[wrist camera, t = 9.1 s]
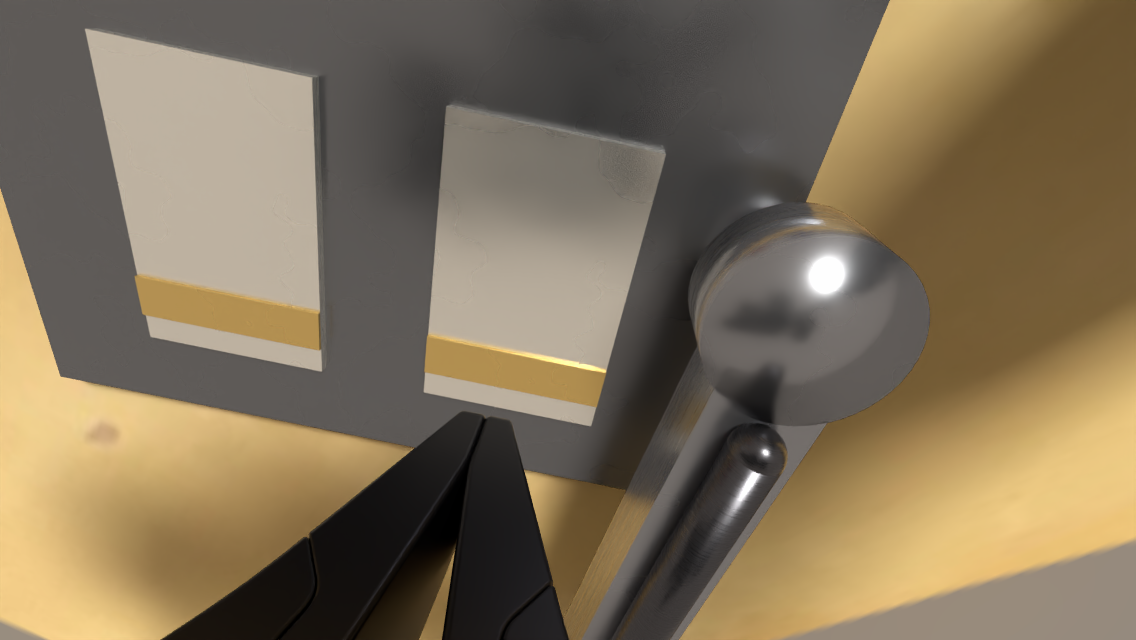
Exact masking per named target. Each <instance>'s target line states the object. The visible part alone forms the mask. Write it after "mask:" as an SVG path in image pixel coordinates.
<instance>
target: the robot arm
mask: <svg viewBox="0 0 1136 640" xmlns="http://www.w3.org/2000/svg"><path fill="white" fill-rule="evenodd" d="M454 551H455V555H454V561H453V568H452V575H451V582H450V589H449V596H448V602H447V609H446V616H445V623H444V630H443V636H442V640H569V637H568V634H567V630H566V627H565V624H564V620H563V617H562V613H561V610H560V606H559V602H558V598H557V595H556V591H555V588H554V586H552V585H553V580H552V576H551V572H550V569H549V565H548V561H547V557H546V553H545V549H544V545H543V541H542V538H541V534H540V530H539V526H538V522H537V518H536V514H535V510H534V507H533V503H532V499H531V495H530V491H529V487H528V483H527V479H526V476H525V472H524V468H523V464H522V460H521V456H520V452H519V449H518V445H517V441H516V437H515V433H514V429H513V425H512V423H511V421H510V420H508V419H504V418H499V417H494V416H489V417H487V418H485V416H484V415H483V414H479V413H474V412H469V411H461V412H459V413H458V414H457V415H456V416H454V417H453V418H452V419H451V420H449V421H448V422H447V423H446V424H444V425H443V426H442V427H441V428H439V429H438V430H437V431H436V432H435V433H433V434H432V435H431V436H430V437H428V438H427V439H426V440H425V441H423V442H422V443H421V444H420V445H418V446H417V447H416V448H415V449H413V450H412V451H411V452H410V453H408V454H407V455H406V456H405V457H403V458H402V459H401V460H400V461H398V462H397V463H396V464H395V465H393V466H392V467H391V468H390V469H388V470H387V471H386V472H385V473H383V474H382V475H381V476H380V477H378V478H377V479H376V480H375V481H374V482H372V483H371V484H370V485H369V486H367V487H366V488H365V489H364V490H362V491H361V492H360V493H359V494H357V495H356V496H355V497H354V498H352V499H351V500H350V501H349V502H347V503H346V504H345V505H344V506H342V507H341V508H340V509H339V510H337V511H336V512H335V513H334V514H332V515H331V516H330V517H329V518H327V519H326V520H325V521H324V522H322V523H321V524H320V525H319V526H318V527H316V528H315V529H314V530H313V531H311V532H310V533H309V534H308V538H307V537H303V538H302V539H301V540H300V541H298V542H297V543H296V544H295V545H293V546H292V547H291V548H290V549H289V550H287V551H286V552H285V553H284V554H282V555H281V556H280V557H278V558H277V559H276V560H274V561H273V562H272V563H270V564H269V565H268V566H267V567H265V568H264V569H263V570H261V571H260V572H259V573H257V574H256V575H255V576H253V577H252V578H251V579H249V580H248V581H247V582H245V583H244V584H242V585H241V586H240V587H238V588H237V589H235V590H234V591H232V592H231V593H229V594H228V595H227V596H225V597H224V598H222V599H221V600H219V601H218V602H216V603H215V604H213V605H212V606H211V607H209V608H208V609H206V610H205V611H203V612H202V613H200V614H199V615H197V616H196V617H194V618H193V619H191V620H190V621H188V622H187V623H185V624H184V625H182V626H181V627H179V628H178V629H176V630H175V631H173V632H172V633H170V634H169V635H167V636H166V637H164V638H163V639H161V640H419V638H420V635H421V633H422V630H423V628H424V625H425V623H426V621H427V618H428V616H429V613H430V611H431V608H432V606H433V603H434V601H435V598H436V596H437V593H438V591H439V588H440V586H441V584H442V581H443V579H444V576H445V574H446V571H447V569H448V566H449V564H450V561H451V559H452V556H453V553H454Z"/></svg>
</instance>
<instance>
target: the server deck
mask: <svg viewBox="0 0 1136 640" xmlns="http://www.w3.org/2000/svg"><path fill="white" fill-rule="evenodd" d="M889 1H890V0H0V189H1V192H2V195H3V198H4V201H5V204H6V207H7V211H8V214H9V217H10V220H11V223H12V226H13V229H14V232H15V236H16V239H17V242H18V245H19V248H20V251H21V254H22V257H23V260H24V264H25V267H26V270H27V273H28V276H29V279H30V282H31V285H32V289H33V292H34V295H35V298H36V301H37V304H38V307H39V310H40V314H41V317H42V320H43V323H44V326H45V329H46V332H47V335H48V339H49V342H50V345H51V348H52V351H53V354H54V357H55V360H56V364H57V367H58V370H59V373H60V376H61V377H66V378H71V379H76V380H81V381H86V382H91V383H96V384H101V385H106V386H111V387H116V388H121V389H126V390H131V391H136V392H141V393H146V394H151V395H156V396H161V397H166V398H171V399H176V400H181V401H186V402H191V403H196V404H201V405H206V406H211V407H216V408H221V409H226V410H231V411H236V412H241V413H246V414H251V415H256V416H261V417H266V418H271V419H276V420H281V421H286V422H291V423H296V424H301V425H306V426H311V427H315V428H320V429H325V430H330V431H335V432H340V433H345V434H350V435H355V436H360V437H365V438H370V439H375V440H380V441H385V442H390V443H395V444H400V445H405V446H410V447H415V448H416V447H417V446H418V445H420V444H421V443H422V442H423V441H425V440H426V439H427V438H428V437H430V436H431V435H432V434H433V433H435V432H436V431H437V430H438V429H439V428H441V427H442V426H443V425H444V424H446V423H447V422H448V421H449V420H451V419H452V418H453V417H454V416H456V415H457V414H458V413H459V412H461V411H469V412H474V413H479V414H483V415H484V416H485V418H487V417H489V416H494V417H499V418H504V419H508V420H510V421H511V423H512V425H513V429H514V433H515V437H516V441H517V445H518V449H519V452H520V456H521V460H522V464H523V468H524V469H525V470H530V471H535V472H540V473H545V474H550V475H555V476H560V477H565V478H570V479H575V480H580V481H585V482H590V483H594V484H599V485H604V486H609V487H614V488H619V489H624V490H627V488H628V486H629V484H630V482H631V480H632V478H633V476H634V474H635V472H636V470H637V467H638V465H639V463H640V461H641V459H642V457H643V455H644V453H645V451H646V449H647V447H648V445H649V443H650V441H651V439H652V437H653V435H654V433H655V431H656V428H657V426H658V424H659V422H660V420H661V418H662V416H663V414H664V412H665V410H666V408H667V406H668V404H669V402H670V400H671V398H672V396H673V394H674V392H675V389H676V387H677V385H678V383H679V381H680V379H681V377H682V375H683V373H684V371H685V369H686V367H687V365H688V363H689V361H690V359H691V357H692V355H693V353H694V351H695V348H696V346H697V341H696V337H695V333H694V329H693V325H692V321H691V317H690V312H689V306H688V291H689V285H690V280H691V276H692V273H693V271H694V268H695V266H696V264H697V262H698V260H699V258H700V256H701V255H702V253H703V252H704V250H705V249H706V247H707V246H708V245H709V244H710V243H711V241H712V240H713V239H714V238H715V237H716V236H717V235H718V234H719V233H720V232H722V231H723V230H724V229H725V228H726V227H728V226H729V225H730V224H732V223H733V222H735V221H736V220H738V219H740V218H742V217H743V216H745V215H747V214H749V213H751V212H754V211H756V210H759V209H762V208H765V207H769V206H772V205H776V204H783V203H791V202H806V200H807V197H808V195H809V193H810V190H811V188H812V185H813V183H814V181H815V178H816V176H817V173H818V171H819V169H820V166H821V164H822V161H823V159H824V157H825V154H826V152H827V149H828V147H829V145H830V142H831V140H832V137H833V135H834V133H835V130H836V128H837V125H838V123H839V121H840V118H841V116H842V113H843V111H844V109H845V106H846V104H847V101H848V99H849V97H850V94H851V92H852V89H853V87H854V85H855V82H856V80H857V77H858V75H859V73H860V70H861V68H862V65H863V63H864V61H865V58H866V56H867V53H868V51H869V49H870V46H871V44H872V41H873V39H874V37H875V34H876V32H877V29H878V27H879V25H880V22H881V20H882V17H883V15H884V13H885V10H886V8H887V5H888V3H889Z"/></svg>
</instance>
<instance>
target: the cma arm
mask: <svg viewBox="0 0 1136 640" xmlns="http://www.w3.org/2000/svg"><path fill="white" fill-rule="evenodd" d="M688 306H689V312H690V317H691V321H692V325H693V329H694V333H695V337H696V341H697V346H696V348H695V351H694V353H693V355H692V357H691V359H690V361H689V363H688V365H687V367H686V369H685V371H684V373H683V375H682V377H681V379H680V381H679V383H678V385H677V387H676V389H675V392H674V394H673V396H672V398H671V400H670V402H669V404H668V406H667V408H666V410H665V412H664V414H663V416H662V418H661V420H660V422H659V424H658V426H657V428H656V431H655V433H654V435H653V437H652V439H651V441H650V443H649V445H648V447H647V449H646V451H645V453H644V455H643V457H642V459H641V461H640V463H639V465H638V467H637V470H636V472H635V474H634V476H633V478H632V480H631V482H630V484H629V486H628V488H627V490H626V492H625V494H624V496H623V498H622V500H621V502H620V504H619V506H618V508H617V511H616V513H615V515H614V517H613V519H612V521H611V523H610V525H609V527H608V529H607V531H606V533H605V535H604V537H603V539H602V541H601V543H600V545H599V547H598V550H597V552H596V554H595V556H594V558H593V560H592V562H591V564H590V566H589V568H588V570H587V572H586V574H585V576H584V578H583V580H582V582H581V584H580V586H579V588H578V591H577V593H576V595H575V597H574V599H573V601H572V603H571V605H570V607H569V609H568V611H567V613H566V615H565V617H564V619H563V620H564V624H565V627H566V630H567V634H568V637H569V640H679V639H680V637H681V636H682V634H683V633H684V631H685V630H686V628H687V627H688V625H689V624H690V623H691V621H692V620H693V618H694V617H695V615H696V614H697V612H698V611H699V609H700V608H701V606H702V605H703V604H704V602H705V601H706V599H707V598H708V596H709V595H710V593H711V592H712V590H713V589H714V588H715V586H716V585H717V583H718V582H719V580H720V579H721V577H722V576H723V574H724V573H725V571H726V570H727V569H728V567H729V566H730V564H731V563H732V561H733V560H734V558H735V557H736V555H737V554H738V552H739V551H740V550H741V548H742V547H743V545H744V544H745V542H746V541H747V539H748V538H749V536H750V535H751V534H752V532H753V531H754V529H755V528H756V526H757V525H758V523H759V522H760V520H761V519H762V517H763V516H764V515H765V513H766V512H767V510H768V509H769V507H770V506H771V504H772V503H773V501H774V500H775V499H776V497H777V496H778V494H779V493H780V491H781V490H782V488H783V487H784V485H785V484H786V482H787V481H788V480H789V478H790V477H791V475H792V474H793V472H794V471H795V469H796V468H797V466H798V465H799V464H800V462H801V461H802V459H803V458H804V456H805V455H806V453H807V452H808V450H809V449H810V447H811V446H812V445H813V443H814V442H815V440H816V439H817V437H818V436H819V434H820V433H821V431H822V430H823V429H824V427H825V426H826V424H827V423H829V422H833V421H836V420H840V419H843V418H846V417H848V416H851V415H854V414H856V413H858V412H860V411H862V410H864V409H866V408H868V407H870V406H871V405H873V404H875V403H876V402H878V401H879V400H881V399H882V398H884V397H885V396H886V395H887V394H889V393H890V392H891V391H892V390H893V389H894V388H896V387H897V386H898V385H899V384H900V383H901V382H902V381H903V379H904V378H905V377H906V376H907V375H908V373H909V372H910V371H911V370H912V368H913V367H914V365H915V363H916V362H917V360H918V359H919V356H920V354H921V352H922V350H923V348H924V345H925V342H926V339H927V336H928V330H929V324H930V309H929V303H928V298H927V295H926V292H925V289H924V287H923V285H922V283H921V281H920V279H919V278H918V276H917V274H916V273H915V272H914V271H913V270H912V269H911V267H910V266H909V265H908V264H907V263H906V262H905V261H903V260H902V259H901V258H900V257H899V256H897V255H896V254H895V253H894V252H893V251H891V250H890V249H889V248H888V247H887V246H885V245H884V244H883V243H882V242H881V241H879V240H878V239H877V238H876V237H875V236H873V235H872V234H871V233H870V232H869V231H867V230H866V229H865V228H864V227H863V226H861V225H860V224H859V223H858V222H856V221H855V220H854V219H853V218H851V217H850V216H848V215H846V214H845V213H843V212H841V211H839V210H836V209H834V208H831V207H828V206H824V205H820V204H815V203H806V202H791V203H783V204H776V205H772V206H769V207H765V208H762V209H759V210H756V211H754V212H751V213H749V214H747V215H745V216H743V217H742V218H740V219H738V220H736V221H735V222H733V223H732V224H730V225H729V226H728V227H726V228H725V229H724V230H723V231H722V232H720V233H719V234H718V235H717V236H716V237H715V238H714V239H713V240H712V241H711V243H710V244H709V245H708V246H707V247H706V249H705V250H704V252H703V253H702V255H701V256H700V258H699V260H698V262H697V264H696V266H695V268H694V271H693V273H692V276H691V280H690V285H689V291H688Z"/></svg>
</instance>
